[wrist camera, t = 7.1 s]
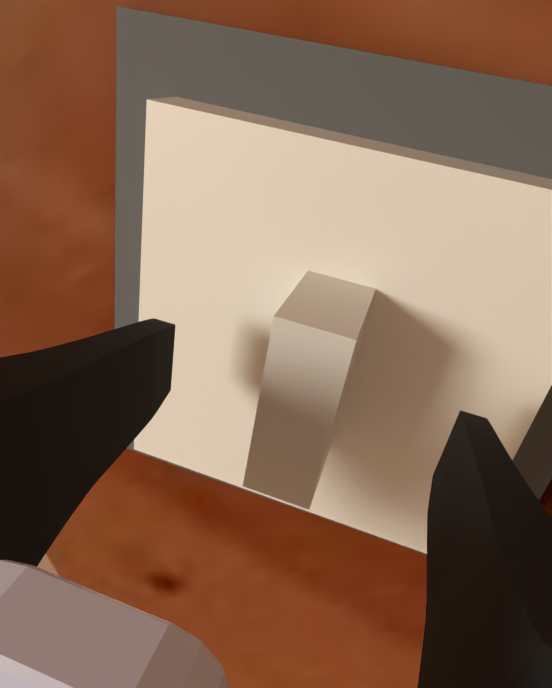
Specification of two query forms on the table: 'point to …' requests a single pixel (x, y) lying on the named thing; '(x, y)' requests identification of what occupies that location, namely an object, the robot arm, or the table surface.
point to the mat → (321, 112)
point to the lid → (337, 309)
